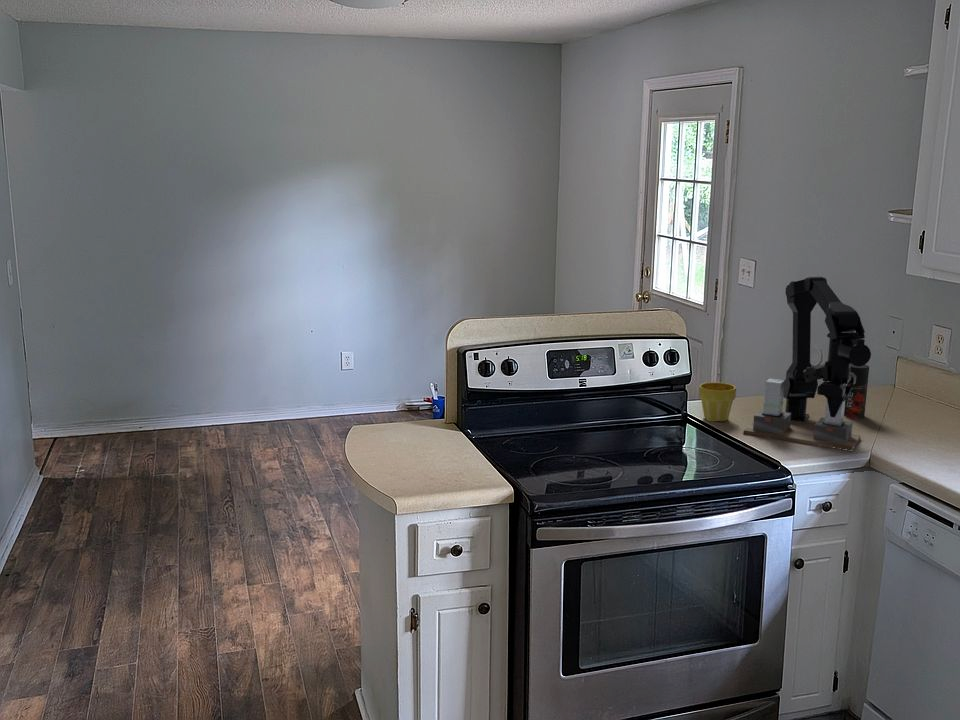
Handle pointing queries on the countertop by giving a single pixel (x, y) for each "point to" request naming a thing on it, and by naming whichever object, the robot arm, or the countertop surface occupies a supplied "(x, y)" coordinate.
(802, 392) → the robot arm
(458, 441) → the countertop surface
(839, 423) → the post
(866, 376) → the deodorant
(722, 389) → the plant pot
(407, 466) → the countertop surface
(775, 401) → the post
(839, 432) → the double stand
